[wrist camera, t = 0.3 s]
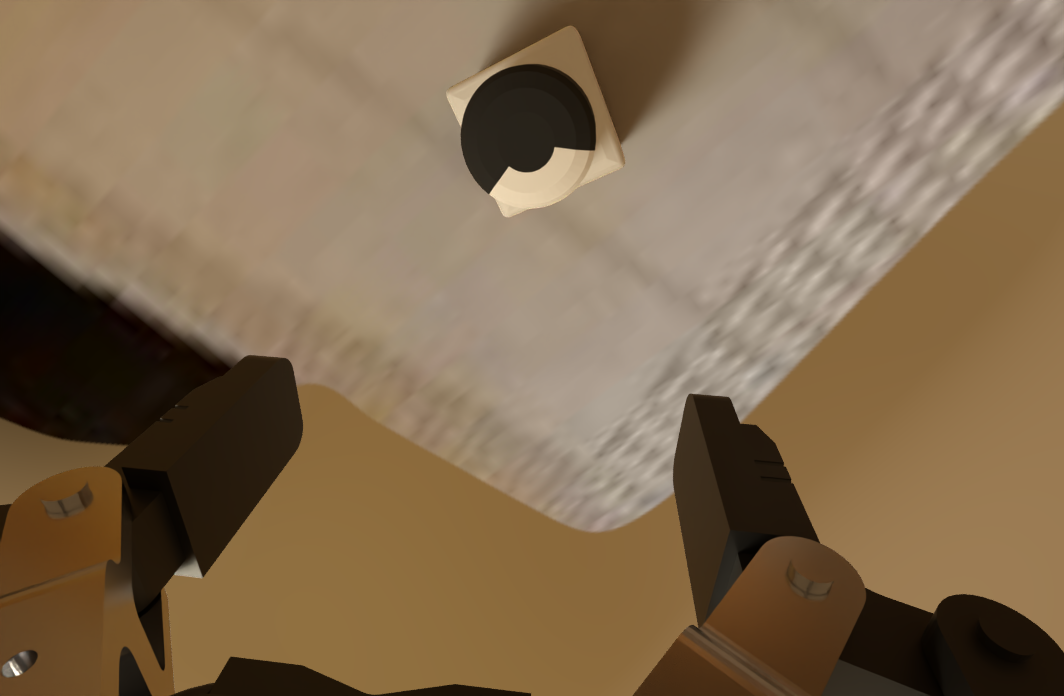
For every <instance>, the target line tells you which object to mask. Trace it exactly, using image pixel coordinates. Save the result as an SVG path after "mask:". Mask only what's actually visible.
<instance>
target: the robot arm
mask: <svg viewBox="0 0 1064 696" xmlns="http://www.w3.org/2000/svg"><path fill="white" fill-rule="evenodd" d="M302 432H303V420H302V414H301V409H300V403H299V398H298V393H297V387H296V382H295V376H294V371H293V367H292V364H291V363H290V361H289V360H288V359H286V358H278V357H266V356H255V355H248V356H246V357H244V358H243V359H242V360H241V361H239V362H238V363H237V364H236V365H235V366H234V367H233V368H232V369H230V370H229V371H228V372H227V373H226V374H225V375H224V376H223V377H218V378H216V379H214V380H212V381H210V382H208V383H206V384H204V385H202V386H200V387H198V388H196V389H194V390H193V391H191V392H190V393H189V394H188V395H187V396H186V397H184V398H183V399H182V400H181V401H180V402H179V403H178V404H176V407H175V409H173V408H172V409H171V410H169V411H168V412H167V413H166V414H165V415H164V416H162V417H161V418H160V422H155V423H154V424H153V425H152V426H151V427H150V428H148V429H147V430H146V431H145V432H144V433H143V434H141V435H140V436H139V437H138V438H137V439H136V440H134V441H133V442H132V443H131V444H130V445H129V446H127V447H126V448H125V449H124V450H123V451H122V452H121V453H119V454H118V455H117V456H116V457H115V458H113V459H112V460H111V461H110V462H109V463H108V464H107V465H105V466H104V467H101V466H89V467H81V468H76V469H72V470H68V471H65V472H62V473H59V474H56V475H53V476H51V477H49V478H46V479H44V480H42V481H40V482H39V483H37V484H35V485H33V486H32V487H30V488H29V489H27V490H26V491H25V492H23V493H22V494H21V495H20V496H19V497H18V498H17V499H16V500H15V501H14V502H13V504H7V505H0V696H531V693H523V692H515V691H506V690H498V689H490V688H482V687H474V686H466V685H458V684H453V685H446V686H439V687H432V688H424V689H417V690H410V691H402V692H395V693H388V694H381V695H371V694H366V693H363V692H361V691H359V690H356V689H354V688H352V687H350V686H348V685H345V684H343V683H341V682H339V681H336V680H334V679H332V678H330V677H327V676H325V675H323V674H321V673H318V672H316V671H314V670H312V669H309V668H307V667H305V666H302V665H294V664H286V663H278V662H270V661H262V660H254V659H245V658H238V657H230V658H229V660H228V662H227V663H226V665H225V667H224V669H223V670H222V672H221V673H220V675H219V677H218V679H217V680H216V682H215V683H211V684H206V685H202V686H198V687H194V688H190V689H187V690H184V691H181V692H178V693H175V688H174V677H173V663H172V648H171V634H170V620H169V605H168V597H167V593H166V591H165V588H164V586H165V585H166V584H167V582H168V581H169V580H170V579H171V577H172V576H173V575H179V576H188V577H197V578H203V577H204V575H205V574H206V573H207V572H208V570H209V569H210V567H211V566H212V565H213V563H214V562H215V561H216V559H217V558H218V557H219V555H220V554H221V553H222V551H223V550H224V549H225V547H226V546H227V544H228V543H229V542H230V540H231V539H232V537H233V536H234V535H235V534H236V532H237V530H239V528H240V527H241V525H242V524H243V523H244V521H245V520H246V519H247V517H248V516H249V515H250V513H251V512H252V511H253V509H254V508H255V506H256V505H257V504H258V502H259V501H260V500H261V498H262V497H263V496H264V494H265V493H266V492H267V490H268V489H269V487H270V486H271V485H272V483H273V482H274V481H275V479H276V478H277V476H278V475H279V474H280V472H281V471H282V470H283V468H284V467H285V466H286V464H287V463H288V462H289V460H290V459H291V457H292V456H293V455H294V453H295V452H296V450H297V449H298V447H299V444H300V441H301V438H302ZM673 485H674V492H675V498H676V503H677V509H678V515H679V520H680V526H681V532H682V537H683V542H684V549H685V554H686V559H687V566H688V571H689V577H690V583H691V588H692V593H693V600H694V605H695V611H696V616H697V622H698V628H699V629H698V628H697V627H695V626H694V625H690V626H689V627H687V628H686V629H685V630H684V631H683V632H682V633H681V634H680V635H679V637H678V638H677V639H676V640H675V642H674V643H673V644H672V646H671V647H670V648H669V650H668V651H667V652H666V654H665V655H664V656H663V658H662V659H661V660H660V661H659V662H658V664H657V665H656V666H655V668H654V669H653V670H652V671H651V673H650V674H649V675H648V677H647V678H646V679H645V680H644V682H643V683H642V684H641V686H640V687H639V688H638V689H637V691H636V692H635V693H634V695H633V696H1064V652H1063V651H1062V650H1061V648H1060V647H1059V646H1058V645H1057V643H1055V641H1054V640H1053V639H1052V638H1051V637H1050V636H1049V635H1048V634H1047V633H1046V632H1045V631H1043V630H1042V629H1041V628H1040V627H1039V626H1038V625H1036V624H1035V623H1033V622H1032V621H1031V620H1029V619H1028V618H1026V617H1025V616H1023V615H1022V614H1020V613H1018V612H1017V611H1015V610H1013V609H1011V608H1009V607H1007V606H1005V605H1003V604H1001V603H998V602H996V601H993V600H990V599H987V598H984V597H980V596H975V595H966V594H961V595H953V596H949V597H947V598H945V599H944V600H942V601H941V603H940V604H939V605H938V607H937V609H936V611H935V612H934V614H933V613H930V612H927V611H925V610H922V609H919V608H916V607H913V606H910V605H907V604H905V603H902V602H899V601H896V600H893V599H890V598H887V597H885V596H882V595H879V594H877V593H875V592H872V591H871V590H869V589H867V588H865V586H864V583H863V581H862V579H861V577H860V576H859V574H858V573H857V571H856V570H855V569H854V568H853V566H852V565H851V564H850V563H849V562H848V561H847V560H845V558H843V557H842V556H841V555H839V554H838V553H836V552H835V551H834V550H832V549H830V548H828V547H827V546H825V545H822V544H820V542H819V539H818V537H817V535H816V533H815V531H814V528H813V526H812V524H811V522H810V520H809V518H808V515H807V513H806V511H805V509H804V506H803V504H802V502H801V500H800V497H799V495H798V493H797V491H796V489H795V486H794V484H793V483H791V478H790V475H789V473H788V471H787V469H786V467H784V462H783V460H782V458H781V455H780V453H779V451H778V449H777V446H776V444H775V443H774V442H773V441H772V440H771V439H770V438H769V437H768V436H767V435H766V434H765V433H764V432H763V431H762V430H761V429H760V428H759V427H758V426H757V425H749V424H740V422H739V420H738V417H737V414H736V412H735V409H734V407H733V404H732V401H731V399H730V398H729V397H723V396H711V395H700V394H689V395H688V397H687V400H686V403H685V408H684V413H683V418H682V423H681V428H680V433H679V438H678V443H677V448H676V453H675V458H674V467H673Z"/></svg>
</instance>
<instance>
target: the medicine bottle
mask: <svg viewBox="0 0 1064 696" xmlns="http://www.w3.org/2000/svg"><path fill="white" fill-rule="evenodd" d="M446 95H447V99H448V101H449V103H450V105H451V107H452V109H453V111H454V113H455V115H456V118H457V120H458V122H459V124H460V126H461V146H462V151H463V156H464V159H465V162H466V165H467V167H468V169H469V171H470V173H471V174H472V176H473V178H474V179H475V181H476V182H477V183H478V184H479V185H480V186H481V188H482V189H483V190H485V191H486V192H487V193H488V194H489V195H491V196H492V197H493V198H495V200H496V202H497V204H498V206H499V208H500V210H501V212H502V214H503V215H504V216H505V217H512V216H514V215H516V214H519V213H521V212H523V211H525V210H528V209H532V208H541V207H545V206H549V205H551V204H554V203H557V202H558V201H560V200H562V199H564V198H565V197H567V196H568V195H569V194H571V193H572V192H573V191H574V190H575V189H576V188H578V187H580V186H582V185H584V184H587V183H589V182H591V181H594V180H596V179H598V178H600V177H603V176H605V175H607V174H610V173H612V172H614V171H616V170H619V169H621V168H622V167H623V166H624V164H625V158H624V154H623V151H622V148H621V144H620V141H619V138H618V136H617V133H616V130H615V127H614V125H613V122H612V119H611V117H610V114H609V111H608V109H607V106H606V103H605V100H604V98H603V95H602V92H601V90H600V87H599V84H598V82H597V79H596V76H595V73H594V71H593V68H592V65H591V63H590V60H589V57H588V55H587V52H586V49H585V47H584V44H583V41H582V38H581V36H580V34H579V32H578V31H577V30H576V28H575V27H573V26H566V27H564V28H563V29H561V30H559V31H557V32H555V33H553V34H551V35H549V36H547V37H545V38H544V39H542V40H540V41H538V42H536V43H534V44H532V45H530V46H528V47H526V48H524V49H523V50H521V51H519V52H517V53H515V54H513V55H511V56H509V57H507V58H505V59H503V60H502V61H500V62H498V63H496V64H494V65H492V66H490V67H488V68H486V69H484V70H483V71H481V72H479V73H477V74H475V75H473V76H471V77H469V78H467V79H465V80H463V81H462V82H460V83H458V84H456V85H454V86H452V87H450V88H449V89H448V90H447V94H446Z"/></svg>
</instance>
